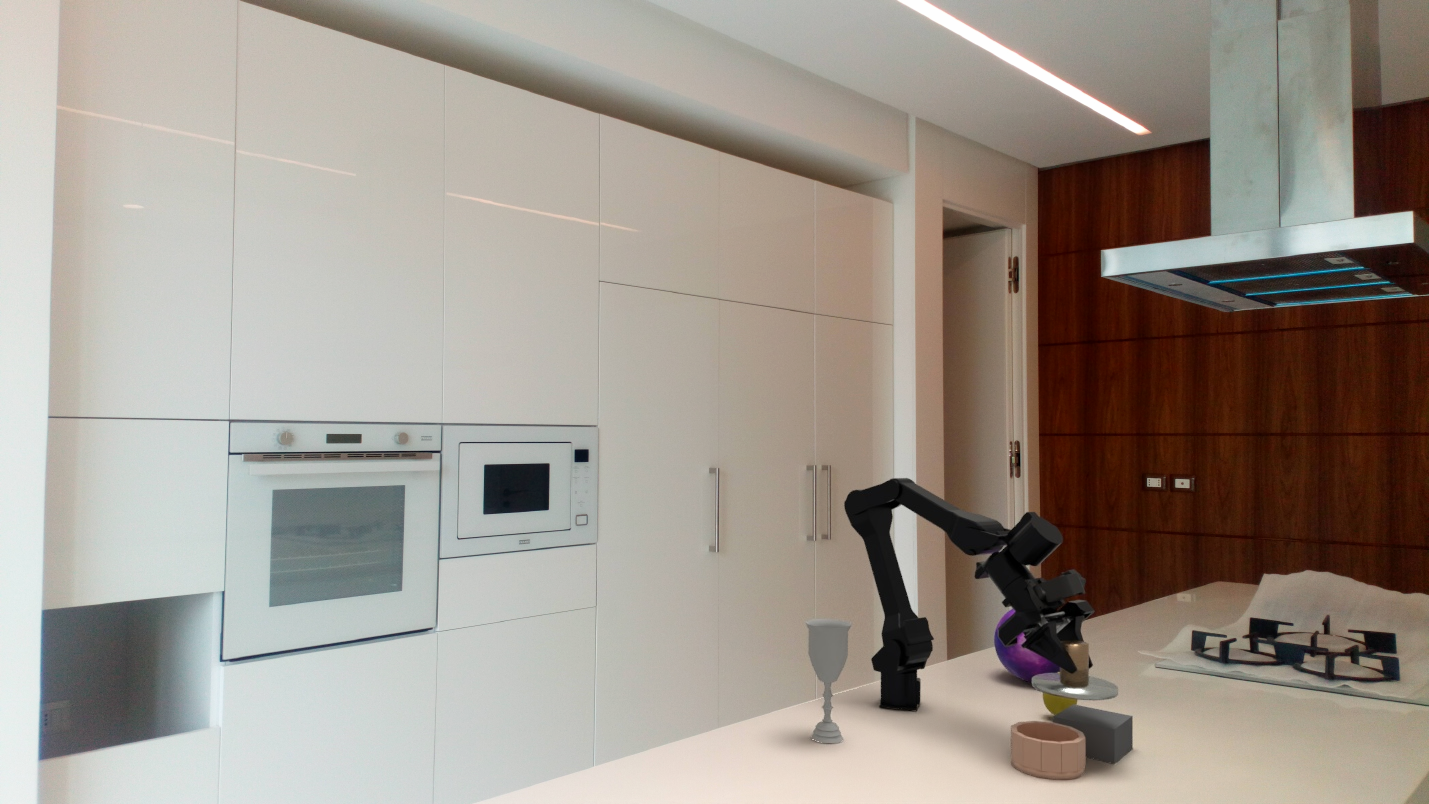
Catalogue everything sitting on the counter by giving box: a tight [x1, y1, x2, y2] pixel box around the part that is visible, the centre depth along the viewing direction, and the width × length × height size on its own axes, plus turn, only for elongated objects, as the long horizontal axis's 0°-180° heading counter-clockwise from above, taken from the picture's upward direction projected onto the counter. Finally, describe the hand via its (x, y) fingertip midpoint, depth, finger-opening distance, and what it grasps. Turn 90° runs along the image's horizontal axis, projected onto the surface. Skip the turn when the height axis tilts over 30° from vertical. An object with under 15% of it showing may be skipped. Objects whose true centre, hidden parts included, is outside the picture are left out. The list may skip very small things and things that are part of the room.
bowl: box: [1010, 720, 1086, 780], centre depth 132 cm, size 10×10×5 cm
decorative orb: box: [993, 608, 1060, 683], centre depth 180 cm, size 15×15×15 cm
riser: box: [1052, 704, 1134, 765], centre depth 140 cm, size 9×9×5 cm
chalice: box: [804, 618, 852, 744], centre depth 143 cm, size 7×7×18 cm
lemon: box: [1042, 672, 1078, 716], centre depth 155 cm, size 6×6×8 cm
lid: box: [1031, 640, 1119, 701], centre depth 136 cm, size 12×12×7 cm
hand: (1082, 669), depth 135 cm, fingers closed on lid, 4 cm apart
